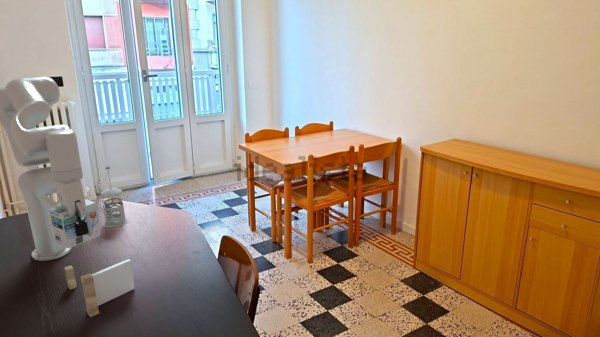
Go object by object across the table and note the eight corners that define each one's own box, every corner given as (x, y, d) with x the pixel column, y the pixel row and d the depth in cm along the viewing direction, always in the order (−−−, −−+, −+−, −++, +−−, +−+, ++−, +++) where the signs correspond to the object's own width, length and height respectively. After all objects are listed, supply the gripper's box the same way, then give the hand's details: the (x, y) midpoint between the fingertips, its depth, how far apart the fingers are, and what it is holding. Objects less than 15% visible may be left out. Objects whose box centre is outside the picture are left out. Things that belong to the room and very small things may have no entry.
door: (89, 310, 121) (83, 279, 118) (87, 308, 121) (81, 278, 118) (134, 288, 131) (130, 260, 128) (132, 287, 132) (128, 258, 128)
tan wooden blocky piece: (67, 287, 132) (60, 253, 128) (75, 284, 134) (69, 250, 130) (90, 317, 118) (83, 280, 115) (99, 313, 120) (92, 276, 116)
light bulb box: (68, 249, 119) (61, 214, 116) (54, 243, 122) (48, 209, 119) (102, 234, 127) (97, 202, 124) (89, 229, 131) (83, 197, 128)
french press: (122, 227, 172) (114, 169, 164) (94, 227, 172) (84, 169, 165) (132, 217, 182) (124, 162, 174) (105, 217, 182) (96, 162, 174)
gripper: (43, 169, 122) (54, 224, 127) (62, 184, 110) (73, 244, 116) (71, 164, 127) (81, 217, 132) (92, 178, 115) (102, 236, 121)
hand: (77, 230), depth 124 cm, fingers closed on light bulb box, 7 cm apart
